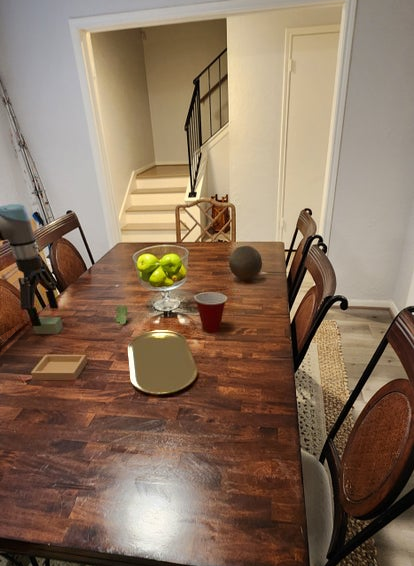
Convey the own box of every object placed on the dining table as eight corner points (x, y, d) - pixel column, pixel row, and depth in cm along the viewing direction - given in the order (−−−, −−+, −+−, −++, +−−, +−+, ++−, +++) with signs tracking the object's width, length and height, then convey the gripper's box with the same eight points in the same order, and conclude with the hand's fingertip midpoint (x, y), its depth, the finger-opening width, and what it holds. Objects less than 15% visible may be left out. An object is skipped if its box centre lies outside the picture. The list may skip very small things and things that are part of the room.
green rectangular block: (35, 333, 130) (32, 323, 128) (42, 327, 134) (38, 317, 132) (57, 333, 129) (54, 323, 127) (63, 327, 134) (60, 317, 131)
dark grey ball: (234, 273, 173) (234, 241, 165) (264, 276, 169) (265, 243, 161) (225, 284, 162) (224, 250, 154) (257, 287, 158) (258, 252, 150)
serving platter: (182, 330, 127) (181, 326, 126) (204, 391, 98) (204, 386, 97) (127, 338, 124) (126, 334, 123) (132, 403, 95) (132, 398, 94)
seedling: (130, 331, 139) (116, 328, 133) (125, 313, 141) (111, 309, 136) (143, 321, 135) (129, 318, 130) (137, 303, 138) (124, 299, 133)
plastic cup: (234, 329, 126) (234, 297, 120) (208, 339, 121) (206, 306, 115) (215, 318, 134) (214, 287, 128) (190, 327, 129) (188, 295, 123)
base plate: (33, 380, 106) (30, 372, 104) (48, 361, 114) (45, 354, 113) (75, 380, 105) (73, 372, 103) (87, 361, 113) (85, 354, 111)
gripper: (18, 269, 107) (40, 333, 118) (55, 245, 128) (70, 301, 139) (-6, 270, 108) (17, 334, 119) (34, 245, 129) (51, 301, 140)
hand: (46, 316), depth 129 cm, fingers open, 13 cm apart
